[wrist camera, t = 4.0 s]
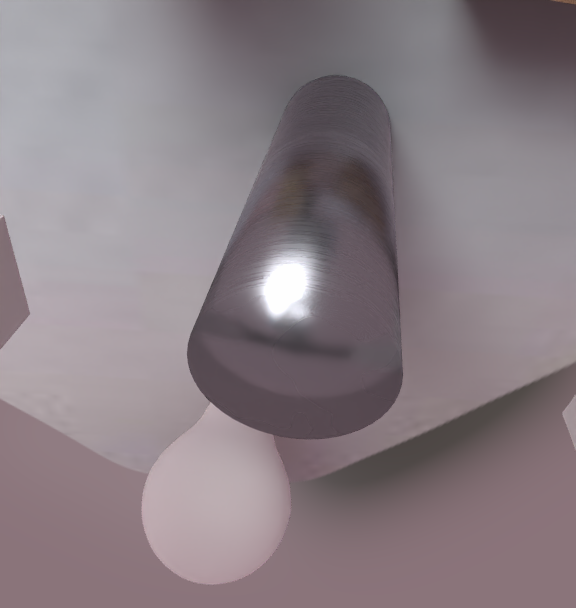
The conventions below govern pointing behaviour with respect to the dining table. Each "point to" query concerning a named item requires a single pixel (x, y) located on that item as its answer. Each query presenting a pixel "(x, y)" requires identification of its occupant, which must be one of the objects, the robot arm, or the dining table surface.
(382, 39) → the dining table surface
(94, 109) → the dining table surface
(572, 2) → the socket block
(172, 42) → the dining table surface
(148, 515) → the lightbulb
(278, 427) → the cylinder
